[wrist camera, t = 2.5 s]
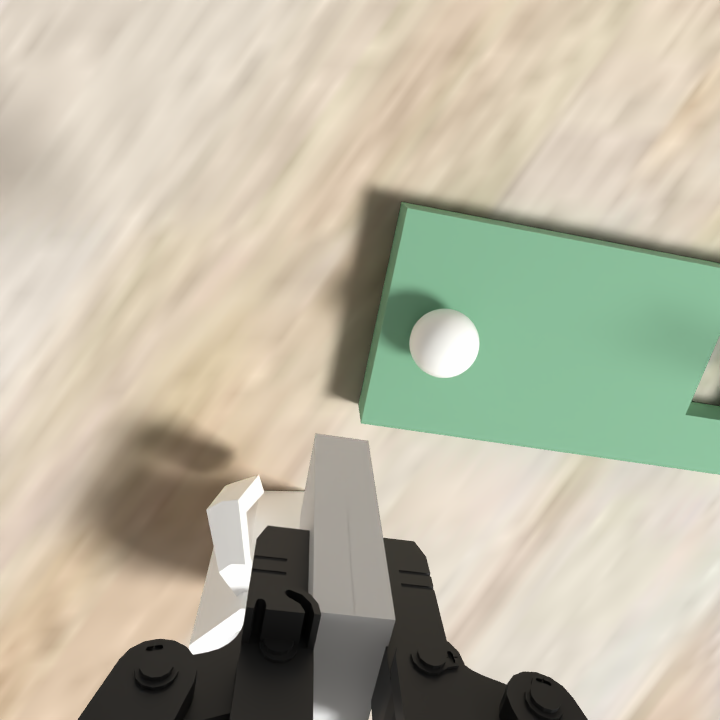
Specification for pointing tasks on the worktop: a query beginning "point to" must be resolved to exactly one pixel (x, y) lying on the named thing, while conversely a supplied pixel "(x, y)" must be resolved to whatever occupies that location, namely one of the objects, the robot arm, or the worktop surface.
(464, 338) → the ball
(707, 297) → the putting strip
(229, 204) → the worktop surface
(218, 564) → the mug
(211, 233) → the worktop surface
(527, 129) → the worktop surface
